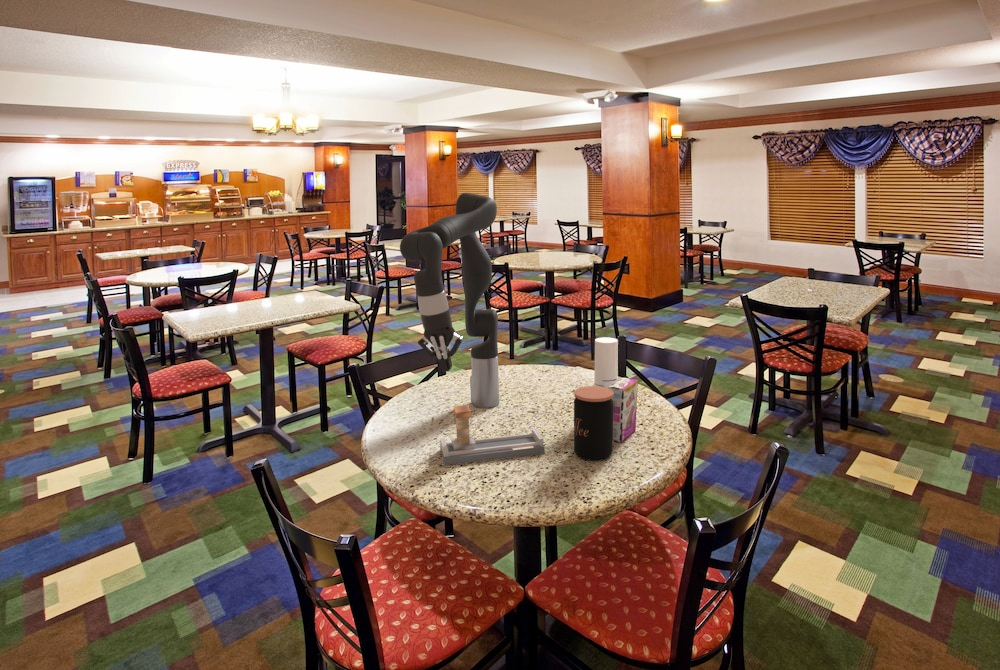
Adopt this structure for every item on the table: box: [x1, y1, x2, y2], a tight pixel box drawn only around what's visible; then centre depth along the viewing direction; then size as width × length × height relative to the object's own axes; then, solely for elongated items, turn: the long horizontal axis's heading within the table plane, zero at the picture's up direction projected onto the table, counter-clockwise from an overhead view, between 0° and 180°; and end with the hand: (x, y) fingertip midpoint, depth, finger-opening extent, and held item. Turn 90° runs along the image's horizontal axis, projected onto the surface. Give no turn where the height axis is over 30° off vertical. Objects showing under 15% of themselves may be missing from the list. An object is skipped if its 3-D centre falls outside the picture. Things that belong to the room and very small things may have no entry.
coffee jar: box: [573, 385, 614, 462], centre depth 166 cm, size 11×11×18 cm
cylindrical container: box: [593, 336, 619, 388], centre depth 193 cm, size 7×7×25 cm
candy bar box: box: [608, 377, 639, 443], centre depth 178 cm, size 11×5×16 cm, turn 145°
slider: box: [450, 404, 476, 451], centre depth 167 cm, size 6×5×12 cm
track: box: [439, 427, 546, 466], centre depth 170 cm, size 28×10×4 cm, turn 102°
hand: (447, 370), depth 161 cm, fingers closed
